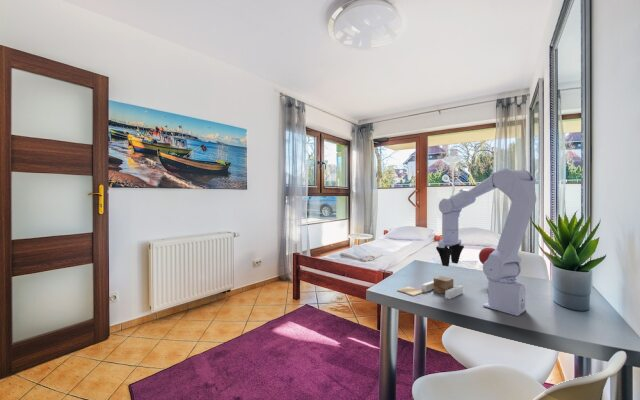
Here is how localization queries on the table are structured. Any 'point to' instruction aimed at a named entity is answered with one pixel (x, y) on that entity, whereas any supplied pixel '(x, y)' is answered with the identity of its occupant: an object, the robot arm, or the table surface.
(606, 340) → the table surface
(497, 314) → the table surface
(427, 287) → the channel
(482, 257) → the lollipop
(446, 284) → the block
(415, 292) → the pad
